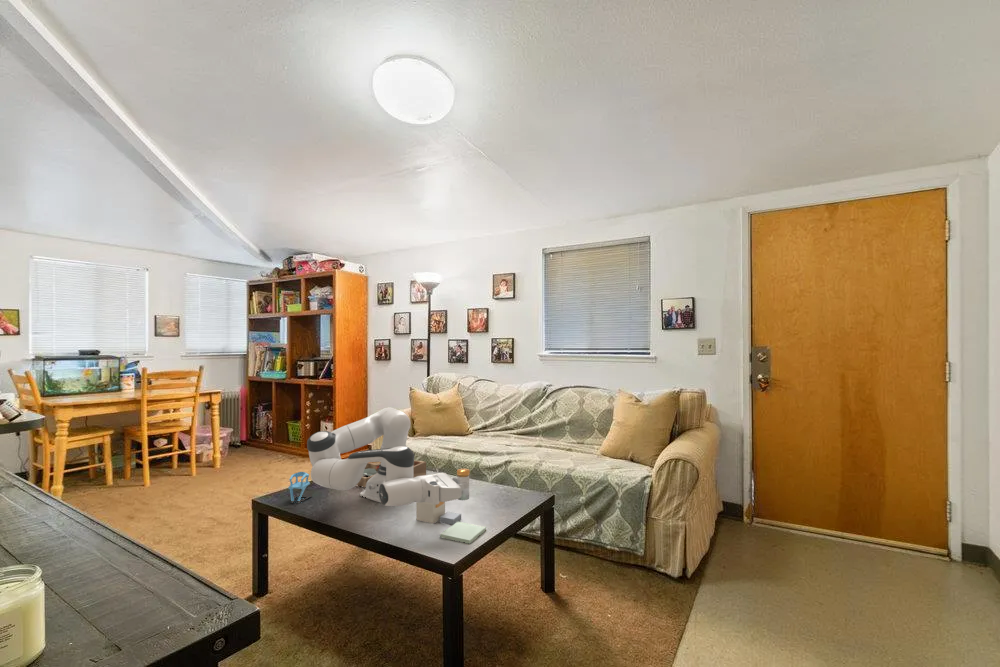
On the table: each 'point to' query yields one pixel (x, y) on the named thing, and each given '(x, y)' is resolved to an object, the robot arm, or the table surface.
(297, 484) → the chair
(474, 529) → the pad
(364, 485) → the brown wooden tray
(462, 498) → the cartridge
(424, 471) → the bracket holder
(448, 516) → the cover plate
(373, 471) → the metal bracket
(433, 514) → the box
